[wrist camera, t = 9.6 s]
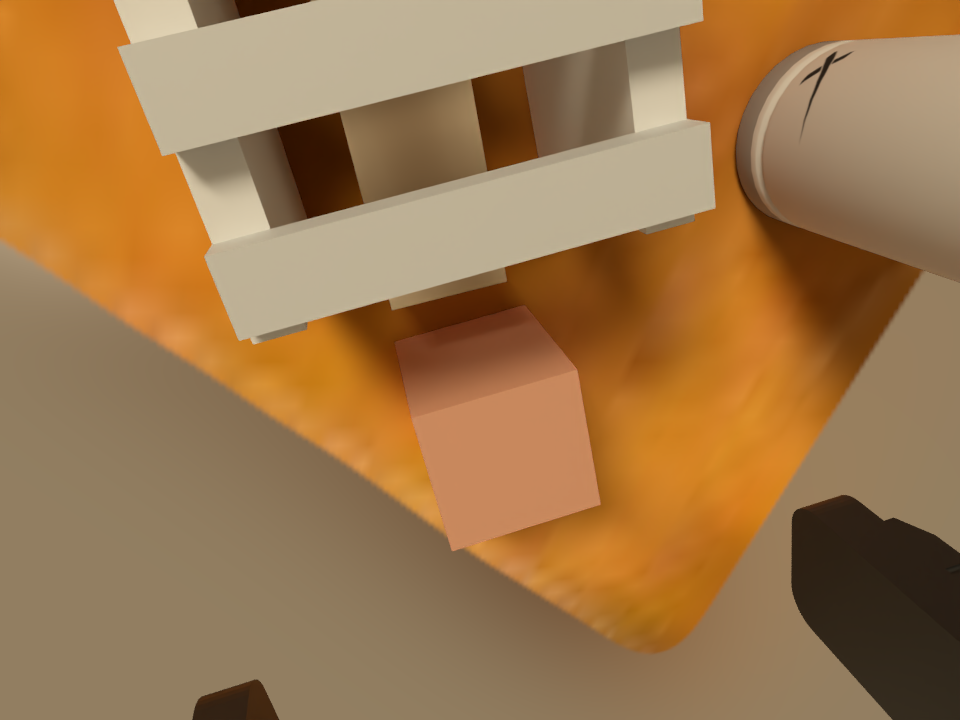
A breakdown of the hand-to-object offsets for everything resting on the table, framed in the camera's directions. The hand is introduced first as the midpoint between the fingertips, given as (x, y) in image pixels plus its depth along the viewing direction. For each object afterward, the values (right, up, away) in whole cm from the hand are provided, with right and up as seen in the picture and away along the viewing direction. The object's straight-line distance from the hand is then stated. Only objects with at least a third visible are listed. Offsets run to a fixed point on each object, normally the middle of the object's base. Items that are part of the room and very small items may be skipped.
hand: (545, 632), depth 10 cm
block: (-1, +3, +16) cm, 16 cm away
